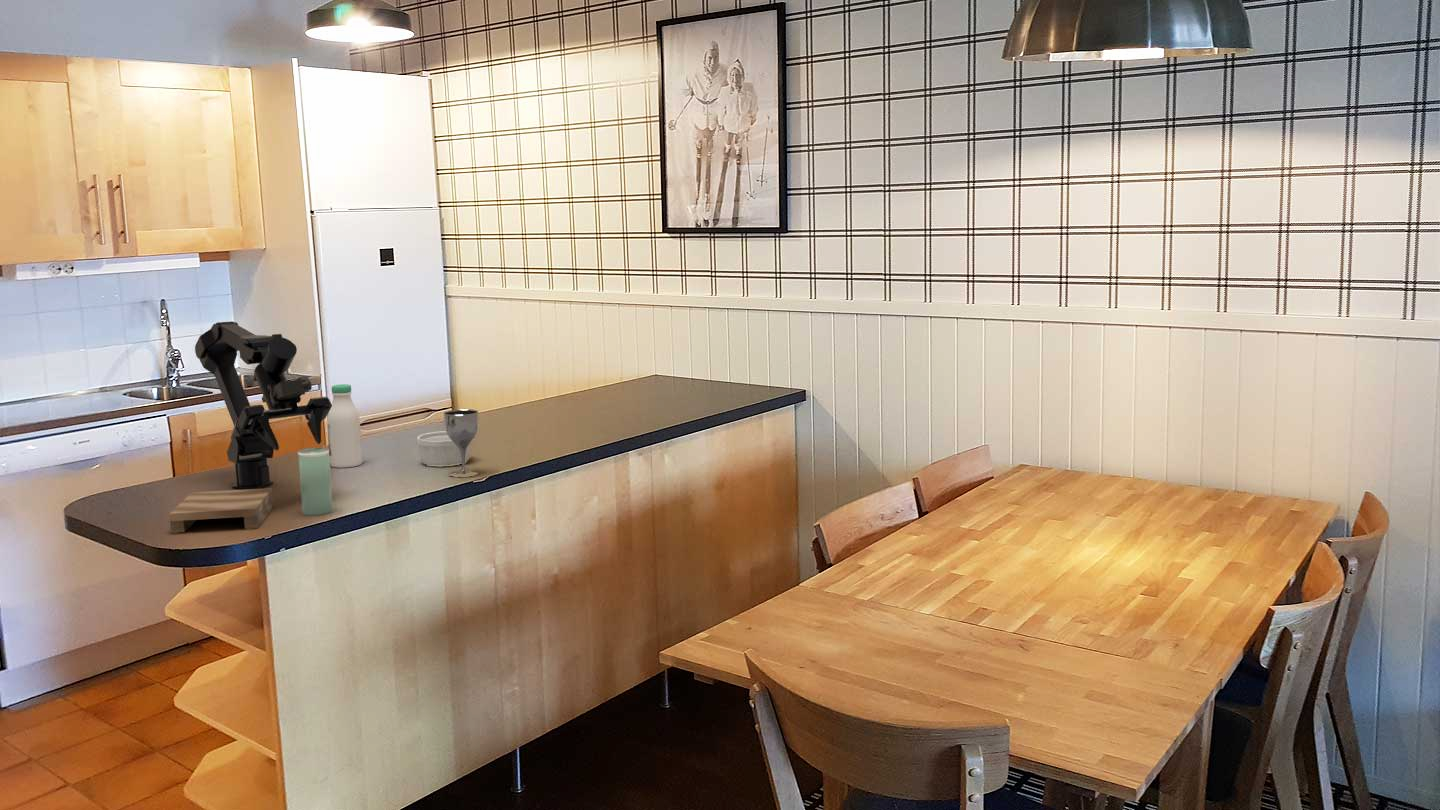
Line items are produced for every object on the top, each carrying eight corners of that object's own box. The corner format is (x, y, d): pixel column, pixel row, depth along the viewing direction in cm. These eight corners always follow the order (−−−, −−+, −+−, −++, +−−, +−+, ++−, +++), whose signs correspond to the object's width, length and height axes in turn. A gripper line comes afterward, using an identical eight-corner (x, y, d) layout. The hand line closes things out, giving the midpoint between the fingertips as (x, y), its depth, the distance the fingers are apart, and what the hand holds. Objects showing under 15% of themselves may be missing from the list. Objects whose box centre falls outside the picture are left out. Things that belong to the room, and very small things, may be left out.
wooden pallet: (193, 511, 244) (191, 492, 244) (273, 506, 247) (272, 488, 247) (171, 533, 227) (169, 513, 226) (257, 528, 230) (256, 508, 229)
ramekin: (458, 469, 282) (457, 441, 281) (408, 467, 285) (407, 439, 283) (481, 458, 294) (480, 431, 293) (433, 456, 297) (432, 430, 296)
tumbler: (296, 514, 241) (291, 452, 238) (313, 507, 246) (309, 447, 244) (321, 516, 239) (317, 454, 237) (339, 508, 245) (334, 448, 243)
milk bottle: (369, 463, 290) (364, 383, 287) (347, 469, 283) (342, 388, 280) (345, 460, 293) (340, 382, 290) (323, 466, 286) (317, 386, 283)
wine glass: (473, 478, 271) (469, 415, 269) (441, 477, 273) (437, 414, 271) (486, 471, 279) (483, 409, 277) (455, 470, 281) (452, 409, 278)
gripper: (240, 368, 240) (265, 431, 234) (326, 360, 252) (352, 419, 247) (227, 399, 247) (251, 460, 242) (311, 389, 260) (336, 447, 254)
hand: (298, 446), depth 246 cm, fingers open, 9 cm apart
